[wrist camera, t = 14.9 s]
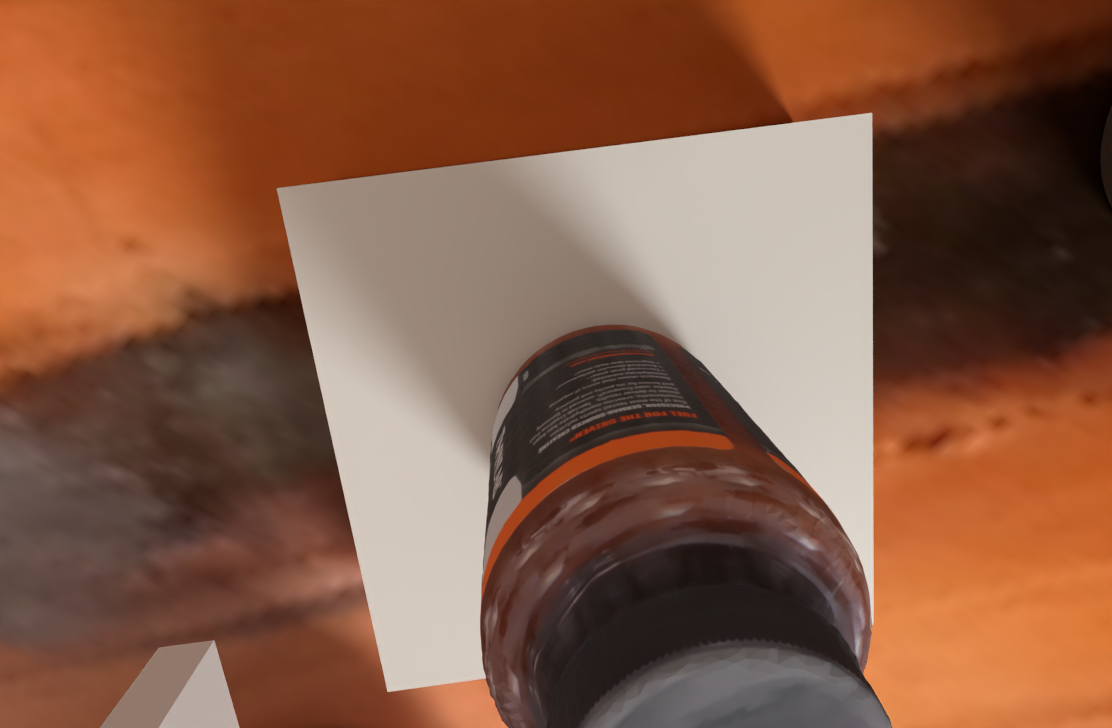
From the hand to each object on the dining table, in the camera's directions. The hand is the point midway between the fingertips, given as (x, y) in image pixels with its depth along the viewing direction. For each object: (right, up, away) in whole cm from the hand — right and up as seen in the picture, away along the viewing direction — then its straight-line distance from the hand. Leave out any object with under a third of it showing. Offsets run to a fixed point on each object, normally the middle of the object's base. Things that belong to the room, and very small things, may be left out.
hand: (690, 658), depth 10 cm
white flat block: (-1, +4, +13) cm, 14 cm away
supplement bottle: (-1, +3, +9) cm, 9 cm away
